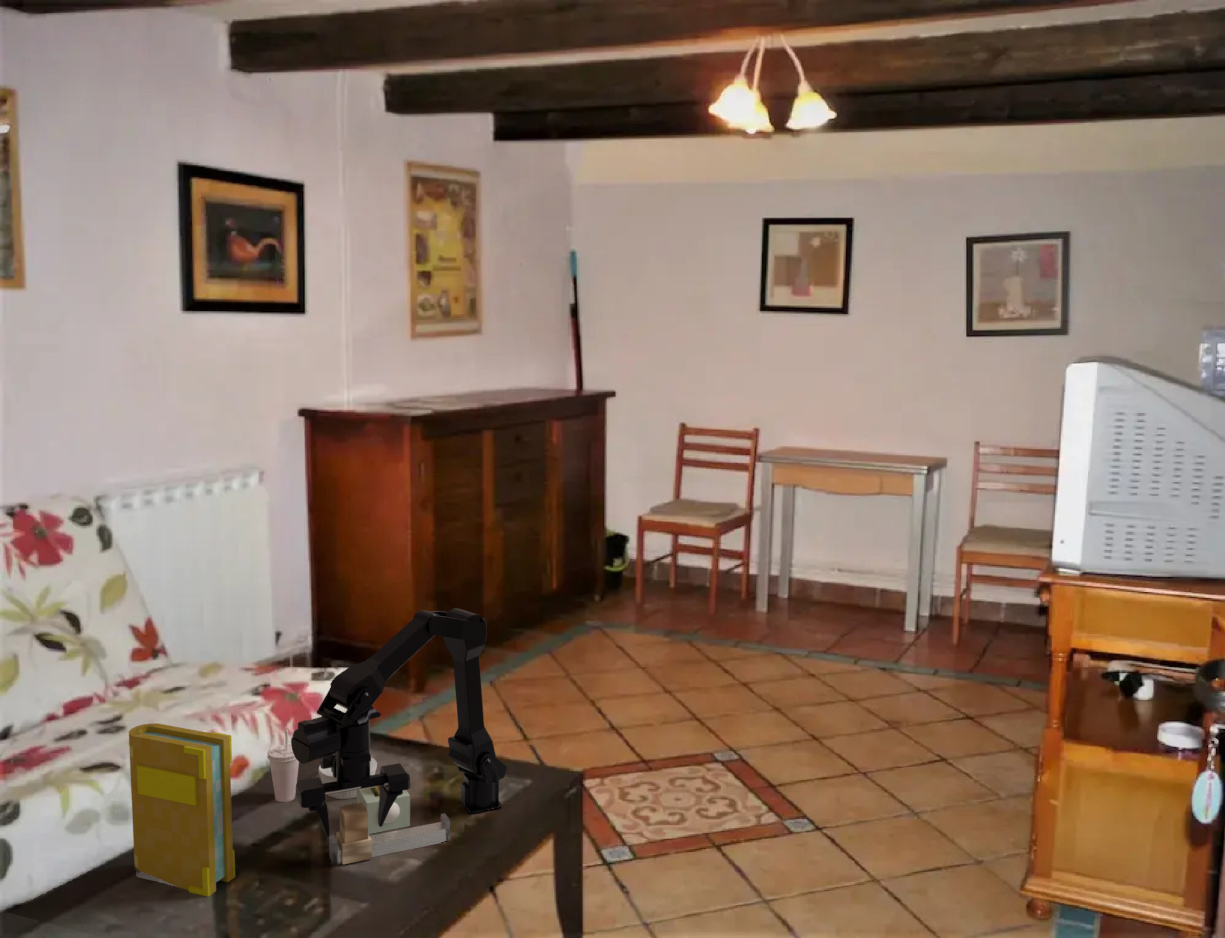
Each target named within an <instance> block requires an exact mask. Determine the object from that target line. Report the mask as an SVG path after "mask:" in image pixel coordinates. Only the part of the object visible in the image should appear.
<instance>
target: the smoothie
mask: <svg viewBox="0 0 1225 938" xmlns="http://www.w3.org/2000/svg"><path fill="white" fill-rule="evenodd" d="M284 740H285V741H284V742H285V743H284V744H280V745H276V746H274V747H272V748H269V749H268V751H267V759H268V761H269V767H270V772H271V773H270V774H271V779H272V784H273V790H274V791H273V792H274V799H275V801H277V802H278V803H287V802H292V801H293V800H295V798H296V784H297V783H298V775H299V768H300V766H299V765H300V762H299V761H298V760H297V759H296V758H295V756H294V753H293V751H292V746H291V744H289V729H288V728H287V729H285V730H284Z"/></svg>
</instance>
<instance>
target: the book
mask: <svg viewBox="0 0 1225 938" xmlns="http://www.w3.org/2000/svg"><path fill="white" fill-rule="evenodd" d="M128 744H129V747H128V749H129V767H130V768H129V770H130V791H131V793H130V795H131V812H132V813H131V815H132V817H131V818H132V837H133V839H132V840H133V858H134V862H133V863H134V868H135V867H136V868H137V869H138V870H140V871H142V872H144V873H147V874H148V875H152V876H155V877H157V878H159V879H162V880H163V881H166V882H168V883H170V884H173V885H176V886H177V887H176V888H178V887H179V888H178V889H182V888H183V890H186V891H188V893H191V894H195V895H199V896H203V897H208V898H209V897H210V896H212V895H213V894H215V892H217V882H219V881H222V882H225V883H229V882H230V881H232V880H233V879H234V878H236V857H235V849H234V848H233V812H232V783H231V782H232V781H231V779H232V778H231V764H232V763H233V756H232V754H233V752H232V735H231V734H226V733H220V732H215V731H211V732H207V731H201V730H196V729H190V728H184V727H180V726H173V725H169V724H168V725H167V724H163V723H144V724H140V725H137V726H134V727H132V728H130V730H128Z"/></svg>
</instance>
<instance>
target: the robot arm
mask: <svg viewBox="0 0 1225 938" xmlns="http://www.w3.org/2000/svg"><path fill="white" fill-rule="evenodd" d="M487 625H488V624H487V621H486V619H485V618H484V617H482V615H479V614H476V613H474V612H471V611H468V610H464V609H461V608H458V607H454V608H452V609H450V610H448V611H441V610H433V611H432V610H431V611H429V610H425V609H424V610H420V611H419V610H418V611H417V612H416V613H415V614H414V615H413V618H412V619H411V620H410V621H409V622H408V623H407V624H405V626H404V627H402V628H401V629H400V630H399V631H398V632H396V633H395V634H394V635H393V636H392V637H391V638H390V639H389V640H388V641H386V643H384V644H383V645H382V646H381V647H380V648H379V649H378V650H377V651H376V652H374V654H372V655H371V656H370V657H369V658H367V659H366V660H365V661H361V662H359V663H356V664H353V665H350V666H349V667H347V668H346V669H344V670H343V671H341V672H340V673H339V674H337V675H336V676H335V677H334V678H333V679H332V680H331V682H330V685H329V686H330V688H329V690H328V691H327V693H326V695H325V696H324V698H323V700H322V701H321V704H320V706H318V708H317V711H316V714H317V715H319V717H315V718H311V719H308V720H301V721H299V722H297V729H295V730H294V731H293V732H292V733H293V734H292V738H291V740H290V745H291V746H292V751H293V753H294V756H295V758H296V759H297V760H298V761H299V764H307V763H311V762H313V761H314V762H315V761H316V760H319V766H321V768H322V769H326V768H331V772H333V777H334V778H336V780H337V781H335V782H329V783H324V784H322V781H321V777H320V776H317V777H312V778H304V779H299V780H297V784H296V794H295V797H296V800H297V801H298V803H299V805H300V807H301V808H303V809H308V810H309V811H310V812H316V814H317V816H318V818H319V820H320V823H321V826H322V828H323V831H324V833H325V834H324V835H325V836H326V838H329V836H330V821H329V819H330V818H329V809H328V805H327V802H326V796H328V794H334V793H340V792H345V791H351V790H357V789H362V788H368V787H374V786H379V791H380V796H379V809H378V825H379V827H382V825H383V823H384V821H385V819H386V817H387V814H388V812H389V810H390V808H391V806H392V805H393V803H394V801H395V800H396V798H397V796H399V795H402V794H403V790H407V791H408V790H409V789H411V777H410V774H409V772H408V771H407V769H406V767H404V765H402V764H401V763H398V762H397V763H393V764H388V765H382V766H381V767H380V768H379V773H375V775H370V761H371V757H372V755H371V720H373V719H377V718H380V717H381V716H382V713H381V712H380V711H378V710H376V708H375V707H374V706H373V705H374V704H375V703H376V701H377V700H378V699H379V698H380V696H381V695H382V694H383V692H384V688H385V686H386V682H388V680H389V679H390V678H391V677H392V676H393V675H394V674H395V673H396V672H398V671H399V670H400V668H402V666H404V665H405V663H407V662H408V661H410V660H411V658H412V657H413V656H415V655H416V654H417V653H418V652H419V650H421V649H422V648H423V647H424V646H425V645H426V644H427V643H428V642H429V641H430V640H432V639H433V637H443V638H442V639H443V641H444V644H445V647H446V648H447V650H448V652H449V653H450V655H451V657H452V663H453V664H452V665H453V674H454V675H453V677H454V690H455V699H456V712H457V729H456V731H455V733H454V735H453V736H450V737H448V739H447V744H448V757H449V758H451V760H452V763H453V764H454V765H456V768H457V771H459V772H460V773H463V781H461V782H460V802H461V804H462V805H463V806H464V807H465V808H466V810H467V811H468V812H469V813H470V814H478V813H482V812H481V811H483V812H485V811H484V810H488V809H492V808H498V807H502V808H503V804H502V803H501V802H500V780H502V779H504V778H505V776H506V773H507V768H508V767H507V766H506V765H505V764H504V763H503V762H502V761H501V760H500V759H498V758H497V756H496V755H497V754H496V751H495V750H496V749H495V746H494V740H493V739H492V737H491V736H490V734H489V732H488V730H487V729H486V727H485V721H484V720H485V718H484V705H483V691H482V677H481V663H480V656H481V654H482V652H483V650H484V648H485V646H486V641H487V631H488V630H487V629H488V626H487ZM337 705H338V706H340V707H342V708H344V709H346V711H345V712H344V711H342V710H340V709H338V708H335V707H336V706H337ZM499 805H500V806H499ZM498 809H499V808H498ZM488 811H489V810H488Z"/></svg>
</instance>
